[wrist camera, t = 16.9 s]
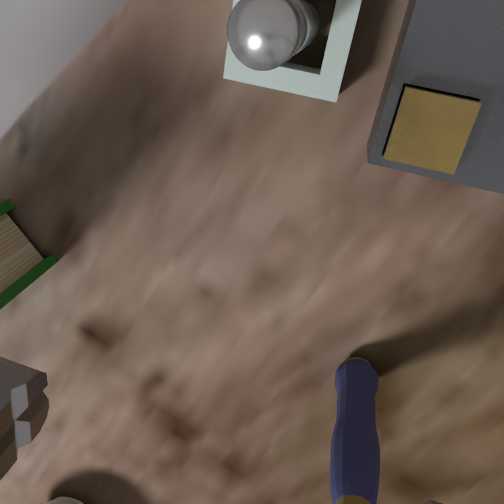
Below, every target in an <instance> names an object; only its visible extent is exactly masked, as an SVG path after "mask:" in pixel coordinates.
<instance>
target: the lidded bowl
mask: <svg viewBox="0 0 504 504" xmlns="http://www.w3.org/2000/svg"><path fill="white" fill-rule="evenodd" d="M42 504H85V503H83V502H81V501H79V500H77V499H74V498H71V497H64V496H62V497H57V498H55V499H54V500H52V501H48V502H45V503H42Z"/></svg>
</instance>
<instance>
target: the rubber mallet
mask: <svg viewBox="0 0 504 504" xmlns="http://www.w3.org/2000/svg"><path fill="white" fill-rule="evenodd" d="M335 386H336V390H337V395H338V402H337V418H336V424H335V428H334V432H333V437H332V443H331V459H330V481H331V496H332V501H333V504H376V502H377V495H378V487H379V472H380V448H379V441H378V436H377V431H376V424H375V395H376V392H377V388H378V375H377V372H376V370H375V369H374V368H373V367H372V366H371V364H370V362H369V361H367V360H365V359H364V358H360V357H352V358H348V359H347V360H346V361H344V362H343V363H342V364H341V365H340V366H339V367H338V369H337V370H336V376H335Z"/></svg>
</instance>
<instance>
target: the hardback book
mask: <svg viewBox="0 0 504 504" xmlns="http://www.w3.org/2000/svg"><path fill="white" fill-rule="evenodd" d="M13 208H15V207H14V205H13V204H12V203H11V202H10V200H9V199H8V200H6V201H4V202H2V203H1V204H0V309H1V308H2V307H4V306H5V305H6V304H7V303H9V302H10V301H11V300H12V299H13V298H15V297H16V296H17V295H18V294H19V293H21V292H22V291H23V290H24V289H25V288H27V287H28V286H29V285H30V284H31V283H33V282H34V281H35V280H36V279H37V278H39V277H40V276H41V275H42V274H43V273H45V272H46V271H47V270H48V269H49V268H51V267H52V266H53V265H54V264H55V263H57V262H58V260H57V259H56V258H55V256H54V255H53V254H51V255H49V256H48V257H46V258H44V259H43V258H42V256H41V255H40V254H39V253H38V251H37V250H36V249H35V248H34V247H33V245H32V244H31V243H30V242H29V240H28V239H27V238H26V237H25V235H24V234H23V233H22V232H21V231H20V229H19V228H18V227H17V226H16V224H15V223H14V222H13V221H12V220H11V218H10V217H9V216H8V215H7V212H9V211H10V210H12V209H13Z"/></svg>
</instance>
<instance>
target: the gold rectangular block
mask: <svg viewBox="0 0 504 504" xmlns="http://www.w3.org/2000/svg"><path fill="white" fill-rule="evenodd" d="M481 105H482V103H481V102H479V101H474V100H470V99H468V98H467V97H466V96H464V95H460V94H455V93H450V92H445V91H440V90H435V89H431V88H426V87H421V86H416V85H411V84H407V83H404V84H403V87H402V90H401V94H400V97H399V100H398V103H397V106H396V110H395V113H394V116H393V119H392V122H391V126H390V129H389V132H388V135H387V138H386V150H385V153H384V159H387V160H391V161H395V162H400V163H404V164H409V165H413V166H418V167H422V168H427V169H431V170H435V171H440V172H444V173H449V174H453V175H454V173H455V170H456V168H457V165H458V163H459V160H460V158H461V155H462V153H463V150H464V148H465V145H466V143H467V140H468V137H469V135H470V132H471V130H472V127H473V125H474V122H475V120H476V117H477V115H478V112H479V110H480V107H481Z"/></svg>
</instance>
